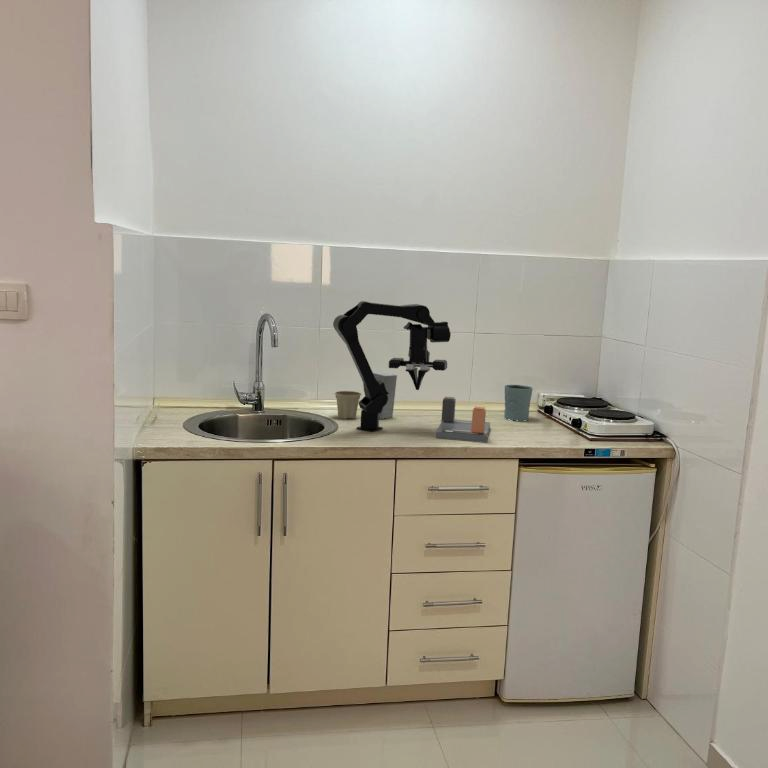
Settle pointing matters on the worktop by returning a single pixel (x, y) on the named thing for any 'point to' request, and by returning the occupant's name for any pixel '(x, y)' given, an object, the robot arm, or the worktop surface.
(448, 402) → the switch knob
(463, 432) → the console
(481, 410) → the switch knob
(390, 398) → the grey vase
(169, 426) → the worktop surface
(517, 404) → the blue-grey tapered cup
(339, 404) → the flower pot
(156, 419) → the worktop surface
